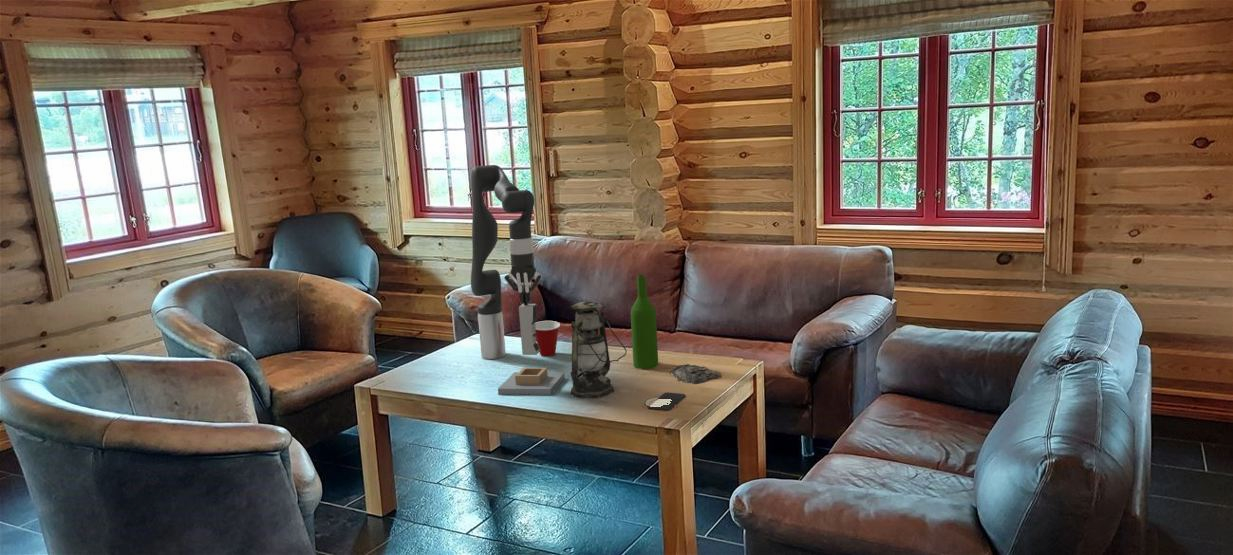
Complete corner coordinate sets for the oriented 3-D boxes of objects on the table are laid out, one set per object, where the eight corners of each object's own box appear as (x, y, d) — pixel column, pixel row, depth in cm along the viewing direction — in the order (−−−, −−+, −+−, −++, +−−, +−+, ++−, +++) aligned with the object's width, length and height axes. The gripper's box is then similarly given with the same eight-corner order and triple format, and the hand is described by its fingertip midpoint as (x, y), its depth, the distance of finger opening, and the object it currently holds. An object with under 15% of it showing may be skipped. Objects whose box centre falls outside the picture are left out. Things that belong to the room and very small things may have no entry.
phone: (646, 407, 271) (664, 392, 284) (646, 410, 271) (665, 394, 284) (669, 410, 268) (686, 394, 281) (669, 412, 268) (686, 396, 281)
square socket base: (514, 377, 311) (513, 363, 310) (564, 377, 307) (563, 364, 306) (498, 394, 293) (497, 379, 292) (551, 394, 290) (549, 380, 289)
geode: (706, 387, 290) (727, 374, 302) (706, 375, 289) (726, 363, 301) (656, 380, 300) (678, 368, 312) (656, 369, 299) (677, 358, 312)
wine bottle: (663, 364, 317) (659, 274, 311) (648, 370, 310) (643, 279, 304) (643, 360, 322) (639, 272, 316) (628, 366, 316) (623, 277, 310)
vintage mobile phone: (536, 355, 296) (531, 281, 291) (522, 355, 297) (516, 281, 292) (540, 352, 299) (534, 279, 294) (526, 351, 300) (520, 279, 296)
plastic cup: (540, 360, 331) (538, 329, 328) (529, 354, 340) (527, 323, 338) (567, 355, 335) (564, 324, 333) (555, 349, 345) (553, 319, 343)
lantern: (594, 380, 303) (588, 294, 297) (638, 388, 291) (633, 299, 285) (556, 395, 289) (550, 305, 283) (601, 405, 277) (595, 311, 271)
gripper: (544, 249, 294) (548, 300, 297) (505, 250, 297) (509, 300, 300) (538, 253, 287) (542, 305, 290) (498, 253, 289) (502, 305, 293)
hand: (525, 302), depth 295 cm, fingers closed on vintage mobile phone, 1 cm apart
